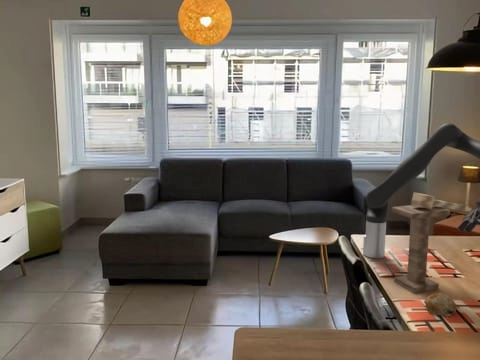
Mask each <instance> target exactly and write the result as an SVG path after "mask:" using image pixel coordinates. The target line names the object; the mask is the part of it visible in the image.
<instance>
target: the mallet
mask: <svg viewBox="0 0 480 360" xmlns="http://www.w3.org/2000/svg"><path fill="white" fill-rule="evenodd" d="M410 205H414V206H417V207H421V208H427V209H432V206H436V207H442V208H445V209H449V210H454V211H460V212H466V208H467V205H466V204H462V203H461V204H460V203H455V202H451V201H450V202H449V201H446V200H445V201H444V200H440V199H439V200H438V199H435V196H433V195H429V194H425V193H420V192H415V191H414V192H413V194H412V198H411V202H410Z"/></svg>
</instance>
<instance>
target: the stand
mask: <svg viewBox="0 0 480 360" xmlns="http://www.w3.org/2000/svg"><path fill="white" fill-rule="evenodd" d="M391 213H393V214H394V213H395V214H396V215H400V216H402V217H406V218H408V219H409V220H410V223H409V224H410V226H409V243H408V258H407V261H408V262H407V271H406V272H407V273H406V274H407V275H400V276H394V281H393V282H394V283H396V284H397V285H400V287H402V288H404V289H406V290H408V291H409V292H411V293H413V294H415V293H421V292H427V291H435V290H438V289H439V287H440V284H439V283H438V282H437V281H434V280H432V279H430V278H428V277H427V267H428V266H427V265H428V251H429V237H430V235H429V234H430V224H431V223H430V222H431V218H433V217H435V218H437V217H444V216H450V215H451V209H448V208H442V207H436V206H432V209H427V208H421V207H417V206H414V205H411V204H409V205H400V206H392V207H391Z"/></svg>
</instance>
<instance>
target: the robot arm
mask: <svg viewBox="0 0 480 360" xmlns="http://www.w3.org/2000/svg"><path fill="white" fill-rule="evenodd" d="M446 147H448V148H452V149H455V150H458V151H462V152H464V153H467V154H470V155H471V156H473V157H475V158H477V159H479V160H480V141H479V140H476V139H474V138H473V137H471V136H469V135H468V134H466V133H465V132H464V131H462V130H461V129H460V128H459V127H458V126H457V125H455V124H453V123H450V122H449V123H448V122H446V123H444V124H442V125H440V126H439V127H438V128H437V129H436V130H435V131H434V132H433V133H432V135H431V136H430V137H429V138H428V139H426V141H424V143H423V144H422V145H420V146H419V147H418V148H417V149H416V150H415V151H413V152H412V153H411V154H410V155H409V156H407V158H405V159H404V160H403V161H402V162H401V163H399V165H397V167H396V168H395V169H394V170H393V171H392V172H391V173H390V174H389V176H387V177H386V179H385V180H384V181H383V182H381V183H380V184H378V185H377V186H374V187H372V188H370V190H369V191H368V192H367V194H366V196H365V202H366V205H367V210H366V211H367V212H366V215H365V217H366V219H365V235H363V243H362V245H363V247H362V255H363V256H365V257H366V258H369V259H370V258H371V259H383V258H384V257H386V256H385V253H386V252H385V251H386V250H385V249H386V237H387V236H386V234H387V217H388V209H389V200H390V199H391V198H392V197H393V196H394V195H395V194H396V193H397V192H399V191H400V190H401V189H403V188H404V187H406V186H408V184H410V183H411V182H412V181H413V180H415V179H416V178H418V176H420V175H421V174H422V173H424V171H426V169H427V168H428V167H429V165H430V163H431V161H432V160H433V159H434V157H435V155H437V154H438V153H439V152H440V151H441V150H442V149H444V148H446ZM474 204H475V206H476V207H477V208H475V209H473V208H472V209H471V210H470V211H469V212H468V213H467V214H466V215H465V216H464V217H463V218H462V222H461V223H460V224H459V225H458V226H457V230H458V231H460V232H463V231H464V232H466V233H467V234H469V233H471V232H472V231H473V230H474V229H475V228H476V227H478V226H480V197H479V198H478V199H477V200H476V201H475V203H474Z"/></svg>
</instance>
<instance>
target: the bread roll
mask: <svg viewBox="0 0 480 360" xmlns="http://www.w3.org/2000/svg"><path fill="white" fill-rule="evenodd" d="M423 303H424V307H425V309H426V310H427V311H428V312H429V313H430V312H431V313H430V314H434V315H435V316H440V317H450V316H453V314H455V313H456V312H457V305H456V303H455V301H454V300H453V299H452V298H451V296H450V295H446V294H445V293H439V292H437V293H432V294H430V295H429V296H427V297H426V299H424V301H423Z"/></svg>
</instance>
